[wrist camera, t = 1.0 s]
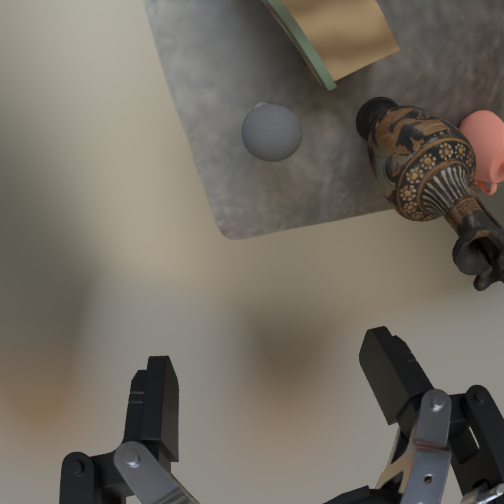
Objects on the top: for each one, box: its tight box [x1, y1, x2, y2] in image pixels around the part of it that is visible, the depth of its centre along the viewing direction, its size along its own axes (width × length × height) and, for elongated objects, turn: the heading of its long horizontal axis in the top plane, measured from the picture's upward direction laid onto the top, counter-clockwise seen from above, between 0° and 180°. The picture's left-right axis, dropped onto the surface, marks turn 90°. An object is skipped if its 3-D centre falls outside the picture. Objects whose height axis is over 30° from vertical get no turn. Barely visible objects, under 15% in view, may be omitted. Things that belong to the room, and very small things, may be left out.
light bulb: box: [242, 102, 302, 162], centre depth 28 cm, size 6×6×10 cm
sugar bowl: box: [458, 110, 504, 195], centre depth 31 cm, size 12×14×10 cm
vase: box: [356, 97, 504, 291], centre depth 23 cm, size 12×12×30 cm
